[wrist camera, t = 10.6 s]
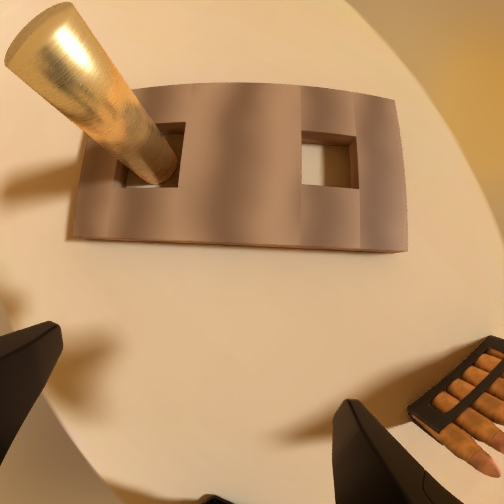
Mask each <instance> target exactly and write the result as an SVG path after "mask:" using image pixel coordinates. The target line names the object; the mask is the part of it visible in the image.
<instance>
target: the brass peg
mask: <svg viewBox="0 0 504 504" xmlns="http://www.w3.org/2000/svg"><path fill="white" fill-rule="evenodd" d="M4 62H5V66H6V67H7V68H8V69H10V70H11V71H12V72H13V73H14V74H16V75H17V76H18V77H19V78H20V79H21V80H23V81H24V82H25V83H26V84H27V85H29V86H30V87H31V88H32V89H33V90H34V91H36V92H37V93H38V94H39V95H40V96H42V97H43V98H44V99H45V100H46V101H48V102H49V103H50V104H51V105H52V106H54V107H55V108H56V109H57V110H58V111H60V112H61V113H62V114H63V115H64V116H66V117H67V118H68V119H69V120H70V121H72V122H73V123H74V124H75V125H77V126H78V127H79V128H80V129H81V130H83V131H84V132H85V133H86V134H87V135H89V136H90V137H91V138H92V139H94V140H95V141H96V142H97V143H98V144H100V145H101V146H102V147H103V148H105V149H106V150H107V151H108V152H109V153H111V154H112V155H113V156H114V157H116V158H117V159H118V160H119V161H120V162H122V163H123V164H124V165H125V166H127V167H128V168H129V169H130V170H132V171H133V172H134V173H135V174H136V175H138V176H139V177H140V178H141V179H143V180H144V181H145V182H147V183H149V184H160V183H163V182H165V181H166V180H168V179H169V178H170V177H171V176H172V175H173V173H174V172H175V170H176V167H177V157H176V154H175V152H174V151H173V149H172V148H171V147H170V145H169V144H168V142H167V141H166V139H165V138H164V137H163V135H162V134H161V132H160V131H159V129H158V128H157V126H156V125H155V124H154V122H153V121H152V119H151V118H150V116H149V115H148V113H147V112H146V111H145V109H144V108H143V106H142V105H141V103H140V102H139V100H138V99H137V97H136V96H135V95H134V93H133V92H132V90H131V89H130V87H129V86H128V84H127V83H126V81H125V80H124V79H123V77H122V76H121V74H120V73H119V71H118V70H117V68H116V67H115V65H114V64H113V63H112V61H111V60H110V58H109V57H108V55H107V54H106V52H105V51H104V49H103V48H102V46H101V45H100V44H99V42H98V41H97V39H96V38H95V36H94V35H93V33H92V32H91V30H90V29H89V27H88V26H87V24H86V23H85V21H84V20H83V18H82V17H81V16H80V14H79V13H78V11H77V10H76V8H75V7H74V5H73V4H72V3H70V2H63V3H59V4H56V5H54V6H52V7H50V8H48V9H46V10H45V11H43V12H42V13H40V14H39V15H38V16H36V17H35V18H34V19H33V20H31V21H30V22H29V23H28V24H27V25H26V26H25V27H24V28H23V29H22V30H21V31H20V32H19V34H18V35H17V36H16V37H15V39H14V40H13V42H12V43H11V45H10V47H9V48H8V51H7V53H6V56H5V61H4Z"/></svg>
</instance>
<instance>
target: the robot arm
mask: <svg viewBox="0 0 504 504" xmlns="http://www.w3.org/2000/svg"><path fill="white" fill-rule="evenodd" d="M62 350H63V340H62V333H61V327H60V326H59V325H58V324H56V323H54V322H52V321H46V322H43V323H40V324H37V325H34V326H31V327H28V328H25V329H22V330H18V331H15V332H12V333H9V334H6V335H3V336H0V465H1V463H2V461H3V459H4V457H5V455H6V453H7V451H8V449H9V447H10V446H11V444H12V442H13V440H14V438H15V436H16V434H17V433H18V431H19V429H20V427H21V425H22V423H23V422H24V420H25V418H26V417H27V415H28V413H29V411H30V410H31V408H32V406H33V405H34V403H35V401H36V400H37V398H38V397H39V395H40V393H41V392H42V390H43V388H44V387H45V385H46V383H47V381H48V379H49V377H50V374H51V372H52V370H53V368H54V366H55V364H56V362H57V360H58V358H59V357H60V355H61V353H62ZM332 466H333V478H334V489H335V502H336V504H464V503H462V502H461V501H460V500H458V499H457V498H456V497H455V496H453V495H452V494H451V493H450V492H449V491H447V490H446V489H445V488H444V487H443V486H442V485H441V484H439V483H438V482H437V481H436V480H435V479H434V478H433V477H432V476H431V475H430V474H429V473H428V472H427V471H426V470H424V468H423V467H422V466H421V465H420V464H419V463H418V462H417V461H416V460H415V459H414V458H413V457H412V456H411V455H410V454H409V453H408V452H407V450H406V449H405V448H404V447H403V446H402V445H401V444H400V443H399V442H398V441H397V440H396V439H395V438H394V437H393V436H392V435H391V434H390V433H389V432H388V431H387V430H386V429H385V428H384V427H383V426H382V424H381V423H380V422H379V421H378V420H377V419H376V418H375V417H374V416H373V415H372V414H371V413H370V412H369V411H368V410H367V409H366V408H365V407H364V405H363V404H362V403H361V402H360V401H359V400H356V399H345V400H344V401H343V402H342V404H341V406H340V407H339V409H338V410H337V412H336V413H335V415H334V417H333V437H332ZM214 500H216V501H214ZM202 504H233V503H231V502H229V501H226V500H224V499H222V498H220V497H218V496H211V497H210V498H209V499H207V500H206V501H205V502H204V503H202Z"/></svg>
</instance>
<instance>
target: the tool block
mask: <svg viewBox="0 0 504 504" xmlns="http://www.w3.org/2000/svg"><path fill="white" fill-rule="evenodd" d="M132 92H133V93H134V95H135V96H136V97H137V99H138V100H139V102H140V103H141V105H142V106H143V108H144V109H145V111H146V112H147V113H148V115H149V116H150V118H151V119H152V121H153V122H154V124H155V125H156V126H157V128H158V129H159V131H160V132H161V134H162V135H165V134H184V141H183V148H182V156H181V164H180V173H179V182H178V188H125V184H126V177H127V170H128V167H127V166H125V165H124V164H123V163H122V162H120V161H119V160H118V159H117V158H116V157H114V156H113V155H112V154H111V153H109V152H108V151H107V150H106V149H105V148H103V147H102V146H101V145H100V144H98V143H97V142H96V141H95V140H94V139H92V138H91V137H90V136H89V137H88V142H87V146H86V150H85V155H84V160H83V165H82V170H81V176H80V181H79V187H78V194H77V201H76V208H75V216H74V225H73V235H72V236H73V237H78V238H83V239H98V240H124V241H149V242H173V243H197V244H220V245H242V246H264V247H285V248H306V249H327V250H347V251H366V252H385V253H399V252H406V251H408V222H407V198H406V184H405V172H404V161H403V152H402V144H401V137H400V130H399V123H398V117H397V111H396V106H395V100H391V99H387V98H382V97H377V96H372V95H367V94H361V93H355V92H349V91H342V90H335V89H328V88H320V87H310V86H300V85H287V84H271V83H197V84H180V85H168V86H158V87H149V88H141V89H133V90H132ZM301 142H305V143H316V144H327V145H336V146H345V147H349V161H350V186H351V188H341V187H330V186H317V185H304V184H301V171H302V151H301Z"/></svg>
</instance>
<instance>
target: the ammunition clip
mask: <svg viewBox="0 0 504 504" xmlns="http://www.w3.org/2000/svg"><path fill="white" fill-rule="evenodd" d="M407 410H408V413H409V415H410V417H411V420H412V422H414V423H415V424H416V425H417V426H419V427H420V428H421V429H422V430H423V431H425V432H426V433H427V434H429V435H430V436H431V437H432V438H434V439H435V440H436V441H437V442H439V443H440V444H441V445H444V446H445V447H446V448H447V449H449V450H450V451H451V452H452V453H453V454H454V455H455V456H457V457H458V458H460V459H462V460H464V461H466V462H467V463H468V464H470V465H472V466H473V467H474V468H475V469H476V470H478V471H480V472H481V473H483V474H485V475H488V476H490V477H496V478H499V477H500V476H501V472H500V469H499V467H498V465H497V464H496V462H495V461H494V460H493V459H492V457H491V456H490V455H489V454H487V453H486V452H485V451H484V450H483V449H482V448H481V447H480V446H479V445H477V443H476V442H475V440H474V439H476V440H478V441H481V442H484V443H485V444H487V445H488V446H490V447H492V448H494V449H495V450H497V451H499V452H501V453H503V454H504V432H502V430H500V429H499V428H497V427H496V426H495V425H494V424H493V422H494V423H496V424H499V425H503V426H504V339H501V338H498V337H495V336H492V335H490V336H488V338H487V339H486V340H485V341H484V342H483V343H482V344H481V345H480V346H479V347H478V348H477V349H476V350H475V351H474V352H473V353H472V354H471V355H470V356H469V357H467V358H466V359H465V360H464V361H463V362H462V363H461V364H460V365H459V366H458V367H457V368H456V369H454V370H453V371H452V372H451V373H450V374H449V375H448V376H446V377H445V378H444V379H443V380H442V381H440V382H439V383H438V384H437V385H436V386H434V387H433V388H432V389H431V390H429V391H428V392H427V393H426V394H424V395H423V396H422V397H421V398H419V399H418V400H417V401H415V402H414V403H413V404H411V405H410V406H408V407H407ZM464 431H465V432H464ZM467 433H468V434H469V435H470V436H469V435H468V434H467ZM471 436H472V437H473V438H474V439H473V438H472V437H471Z"/></svg>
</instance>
